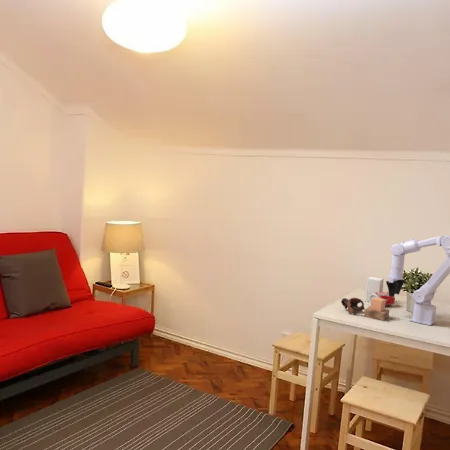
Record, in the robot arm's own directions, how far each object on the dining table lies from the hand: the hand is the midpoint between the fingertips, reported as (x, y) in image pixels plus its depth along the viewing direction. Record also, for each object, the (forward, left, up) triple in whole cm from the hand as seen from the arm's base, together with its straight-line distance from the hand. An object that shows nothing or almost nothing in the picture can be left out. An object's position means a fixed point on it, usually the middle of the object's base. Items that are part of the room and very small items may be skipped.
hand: (394, 295), depth 234 cm
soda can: (+12, -6, -6) cm, 15 cm away
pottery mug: (+15, +14, -10) cm, 23 cm away
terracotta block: (+3, +12, -6) cm, 14 cm away
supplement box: (+16, -17, -10) cm, 25 cm away
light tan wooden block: (+3, +12, -10) cm, 16 cm away
